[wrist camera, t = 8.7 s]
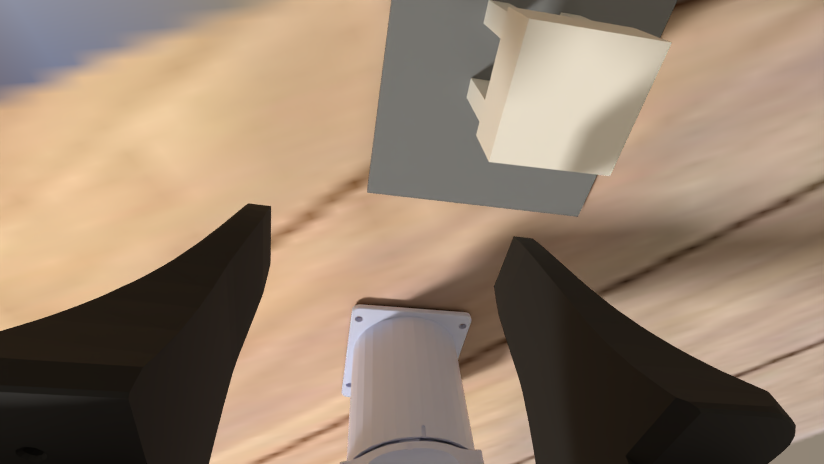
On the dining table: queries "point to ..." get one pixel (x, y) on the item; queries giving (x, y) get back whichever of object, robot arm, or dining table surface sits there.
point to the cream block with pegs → (562, 89)
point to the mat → (468, 105)
